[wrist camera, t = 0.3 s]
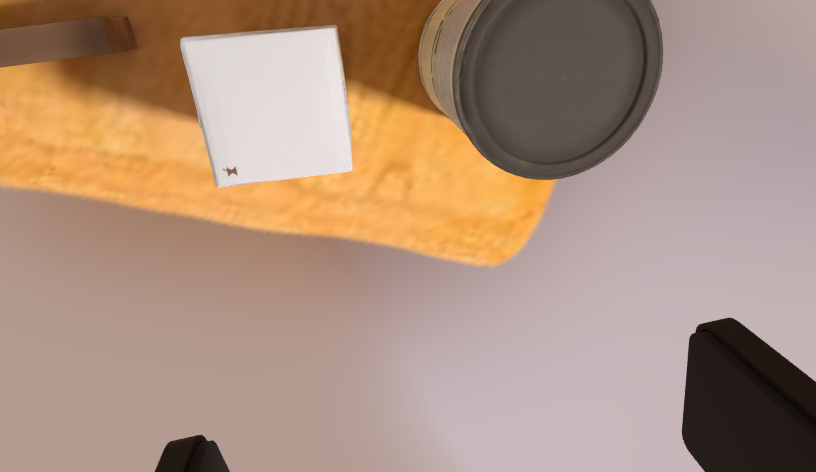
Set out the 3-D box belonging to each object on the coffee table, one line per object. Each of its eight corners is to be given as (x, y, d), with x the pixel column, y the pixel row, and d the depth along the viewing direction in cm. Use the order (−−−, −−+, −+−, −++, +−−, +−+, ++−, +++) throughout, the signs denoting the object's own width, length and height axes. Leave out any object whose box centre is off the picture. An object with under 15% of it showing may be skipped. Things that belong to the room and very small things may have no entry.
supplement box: (352, 128, 37) (355, 177, 26) (253, 137, 37) (211, 192, 25) (340, 22, 34) (337, 25, 23) (232, 30, 34) (172, 37, 22)
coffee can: (538, -45, 34) (655, -81, 21) (563, 101, 38) (672, 143, 25) (397, 4, 34) (428, -3, 21) (437, 143, 38) (483, 206, 26)
